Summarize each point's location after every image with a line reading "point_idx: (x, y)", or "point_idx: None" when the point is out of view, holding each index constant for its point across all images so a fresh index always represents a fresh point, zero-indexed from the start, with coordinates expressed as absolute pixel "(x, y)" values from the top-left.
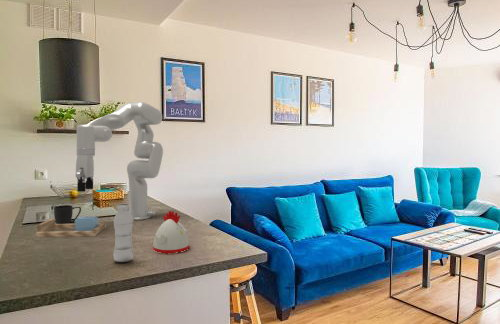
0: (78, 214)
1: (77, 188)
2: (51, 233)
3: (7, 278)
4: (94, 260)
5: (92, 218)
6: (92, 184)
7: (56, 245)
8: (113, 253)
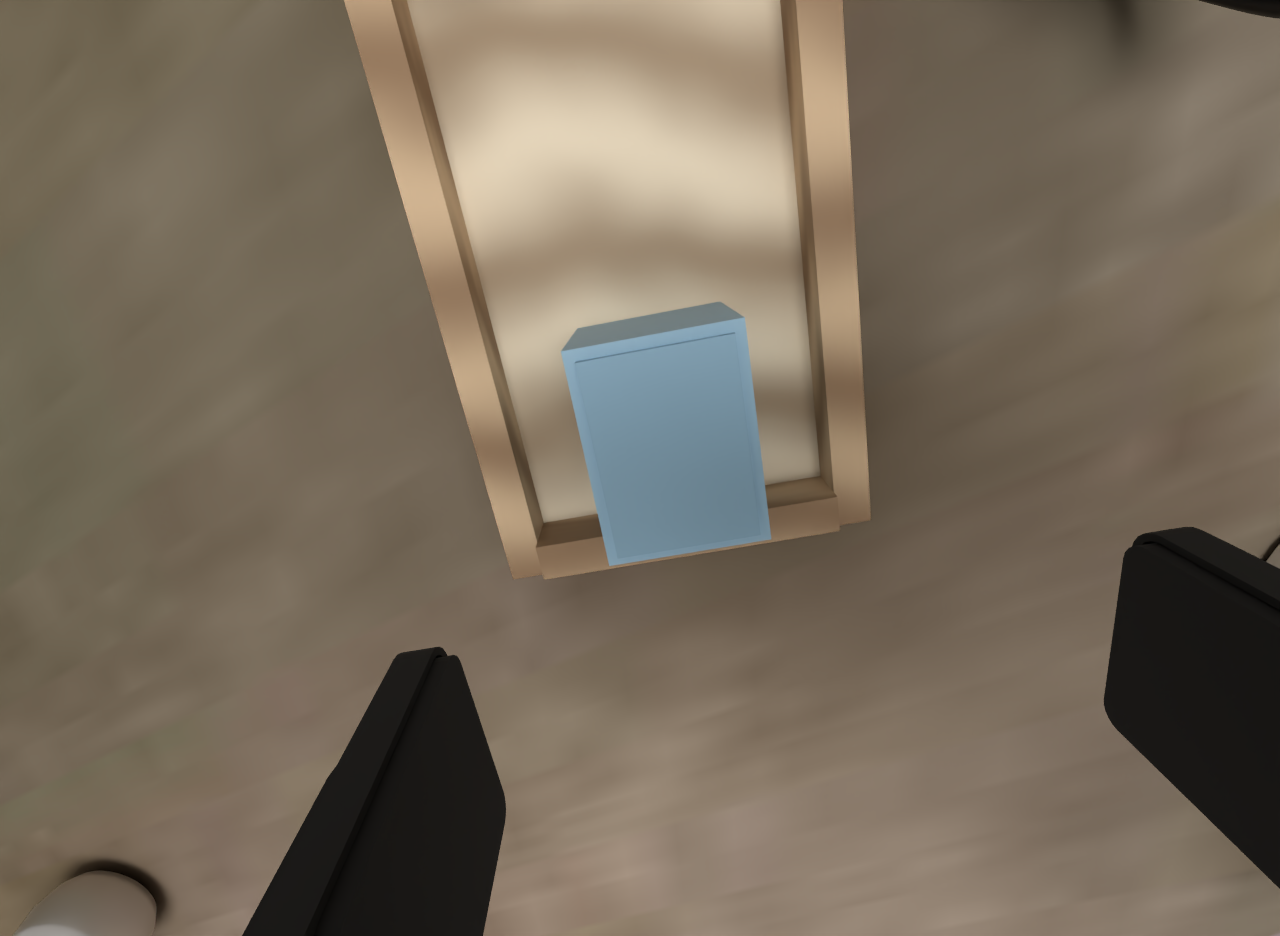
0: (1239, 4)
1: (365, 716)
2: (389, 141)
3: None
4: (66, 763)
5: (644, 539)
6: (1258, 848)
7: (250, 338)
8: (30, 915)
